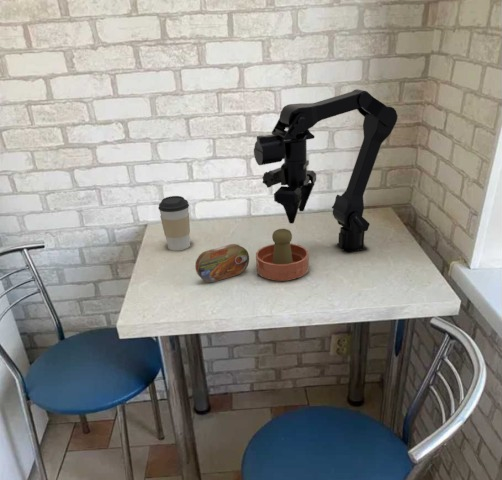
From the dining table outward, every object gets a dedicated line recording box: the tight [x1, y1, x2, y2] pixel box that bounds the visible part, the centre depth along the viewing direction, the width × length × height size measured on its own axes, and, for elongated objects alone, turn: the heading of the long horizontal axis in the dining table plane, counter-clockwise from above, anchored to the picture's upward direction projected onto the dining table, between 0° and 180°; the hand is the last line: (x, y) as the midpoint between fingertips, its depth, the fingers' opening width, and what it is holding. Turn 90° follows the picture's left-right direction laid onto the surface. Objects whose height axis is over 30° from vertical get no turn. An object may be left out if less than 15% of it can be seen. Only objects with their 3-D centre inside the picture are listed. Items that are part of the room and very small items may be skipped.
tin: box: [194, 243, 250, 283], centre depth 142 cm, size 15×3×8 cm, turn 117°
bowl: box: [255, 243, 310, 282], centre depth 144 cm, size 14×14×5 cm
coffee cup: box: [158, 195, 191, 251], centre depth 160 cm, size 9×9×15 cm
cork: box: [271, 228, 293, 264], centre depth 142 cm, size 6×6×11 cm
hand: (296, 217), depth 144 cm, fingers open, 9 cm apart
